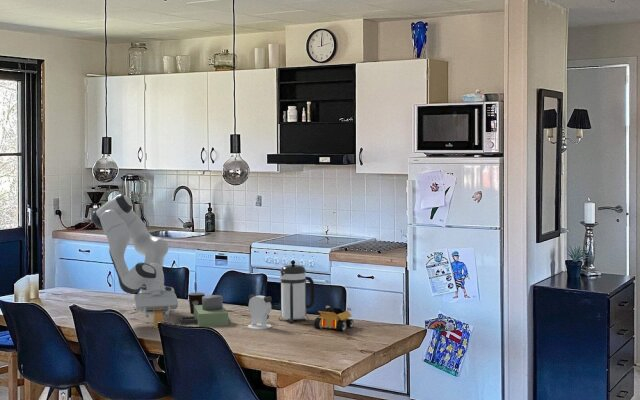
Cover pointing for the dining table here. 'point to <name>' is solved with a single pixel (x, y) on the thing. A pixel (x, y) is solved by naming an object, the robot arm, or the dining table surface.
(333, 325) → the yellow toy truck
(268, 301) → the panda figurine
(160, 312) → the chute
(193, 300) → the coffee mug
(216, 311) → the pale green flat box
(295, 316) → the coffee press
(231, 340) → the dining table surface
